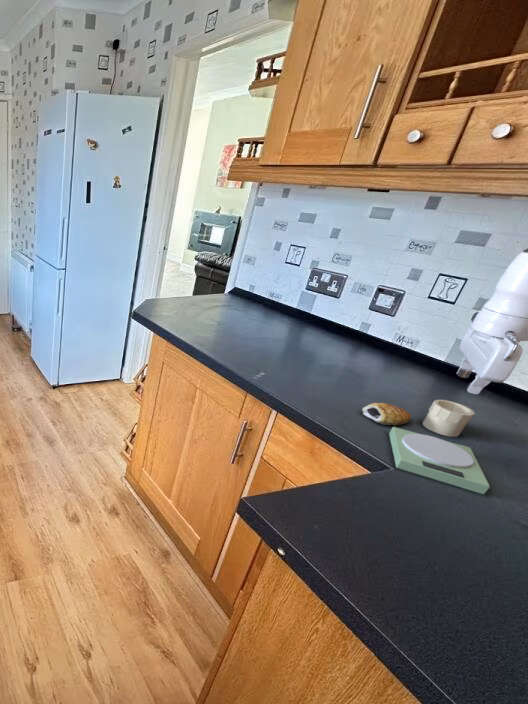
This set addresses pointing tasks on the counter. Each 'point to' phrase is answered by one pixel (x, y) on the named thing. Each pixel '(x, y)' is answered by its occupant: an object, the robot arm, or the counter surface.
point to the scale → (437, 460)
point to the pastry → (386, 414)
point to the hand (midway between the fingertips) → (466, 384)
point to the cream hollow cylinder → (447, 418)
